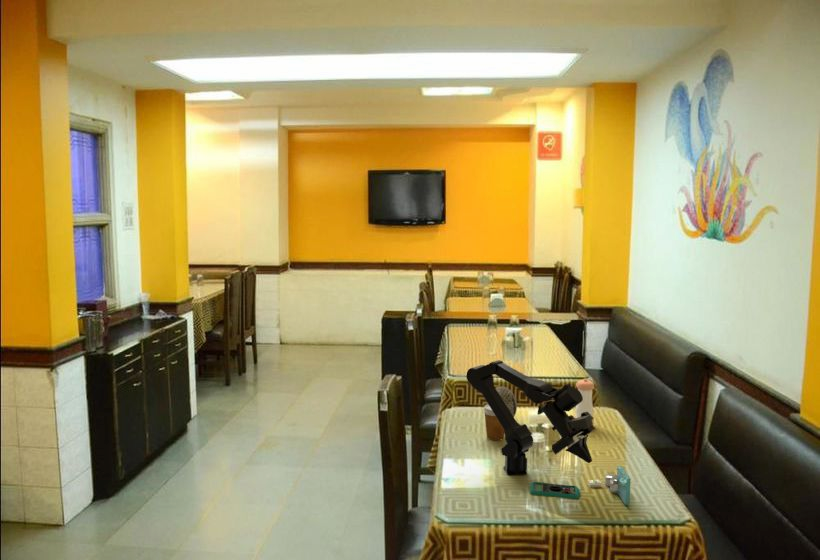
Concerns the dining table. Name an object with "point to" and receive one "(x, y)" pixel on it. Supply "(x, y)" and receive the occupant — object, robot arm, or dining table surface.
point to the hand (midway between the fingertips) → (590, 462)
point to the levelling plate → (598, 483)
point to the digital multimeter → (554, 490)
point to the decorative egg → (508, 398)
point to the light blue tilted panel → (621, 485)
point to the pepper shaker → (585, 398)
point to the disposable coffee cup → (493, 425)
